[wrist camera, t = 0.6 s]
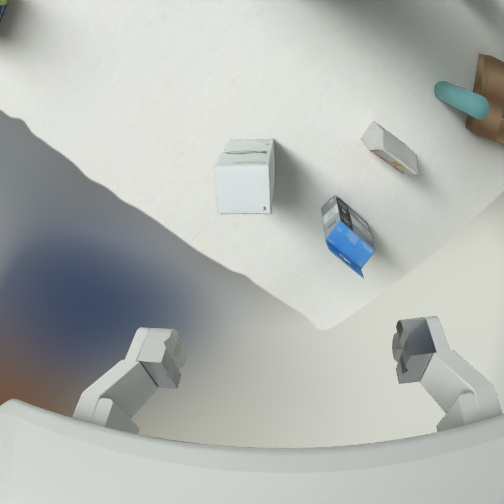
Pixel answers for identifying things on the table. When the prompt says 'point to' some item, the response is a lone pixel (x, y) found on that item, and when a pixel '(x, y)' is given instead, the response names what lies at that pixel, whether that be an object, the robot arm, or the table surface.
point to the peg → (462, 99)
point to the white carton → (390, 149)
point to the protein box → (2, 7)
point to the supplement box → (245, 177)
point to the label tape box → (347, 234)
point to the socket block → (489, 98)
